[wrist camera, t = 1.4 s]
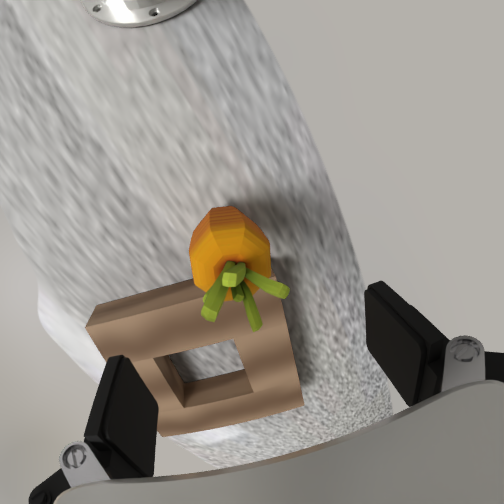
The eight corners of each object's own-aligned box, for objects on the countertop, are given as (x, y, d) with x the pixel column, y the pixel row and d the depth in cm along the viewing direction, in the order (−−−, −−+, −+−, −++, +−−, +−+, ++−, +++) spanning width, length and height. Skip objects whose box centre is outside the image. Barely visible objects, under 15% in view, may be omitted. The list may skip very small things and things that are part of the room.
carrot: (256, 198, 27) (314, 269, 13) (239, 249, 28) (274, 358, 14) (201, 182, 25) (198, 240, 12) (186, 235, 27) (173, 341, 13)
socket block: (96, 305, 28) (85, 327, 24) (266, 257, 29) (275, 276, 25) (163, 413, 35) (162, 436, 31) (295, 382, 36) (304, 405, 32)
